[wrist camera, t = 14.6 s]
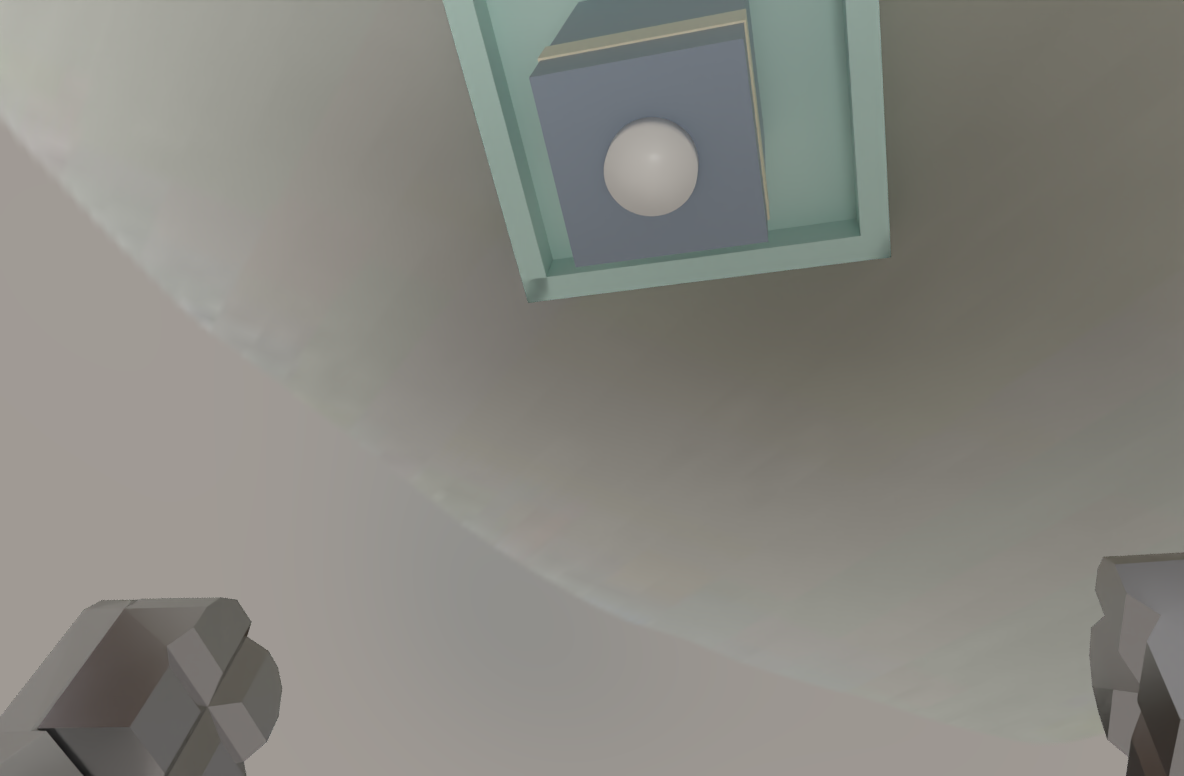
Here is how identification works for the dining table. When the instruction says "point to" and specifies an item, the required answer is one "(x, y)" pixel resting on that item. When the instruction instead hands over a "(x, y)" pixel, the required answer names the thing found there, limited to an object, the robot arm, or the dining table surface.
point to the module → (654, 128)
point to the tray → (791, 129)
